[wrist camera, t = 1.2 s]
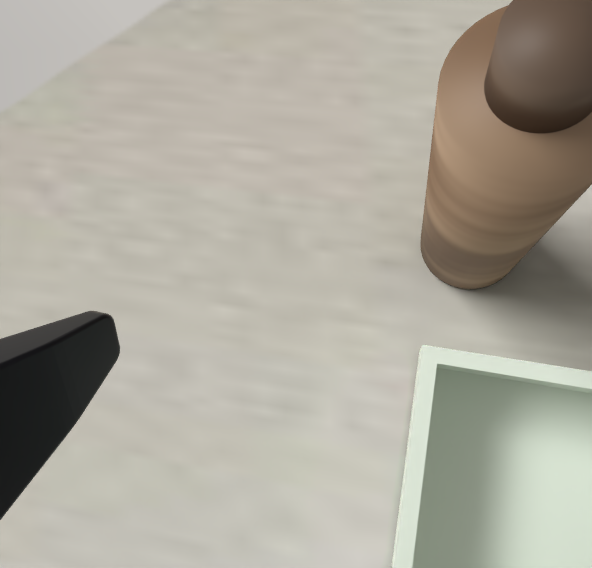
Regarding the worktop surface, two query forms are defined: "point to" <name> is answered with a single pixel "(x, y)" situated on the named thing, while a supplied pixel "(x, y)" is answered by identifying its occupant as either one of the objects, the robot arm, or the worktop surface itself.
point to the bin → (496, 465)
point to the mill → (508, 138)
